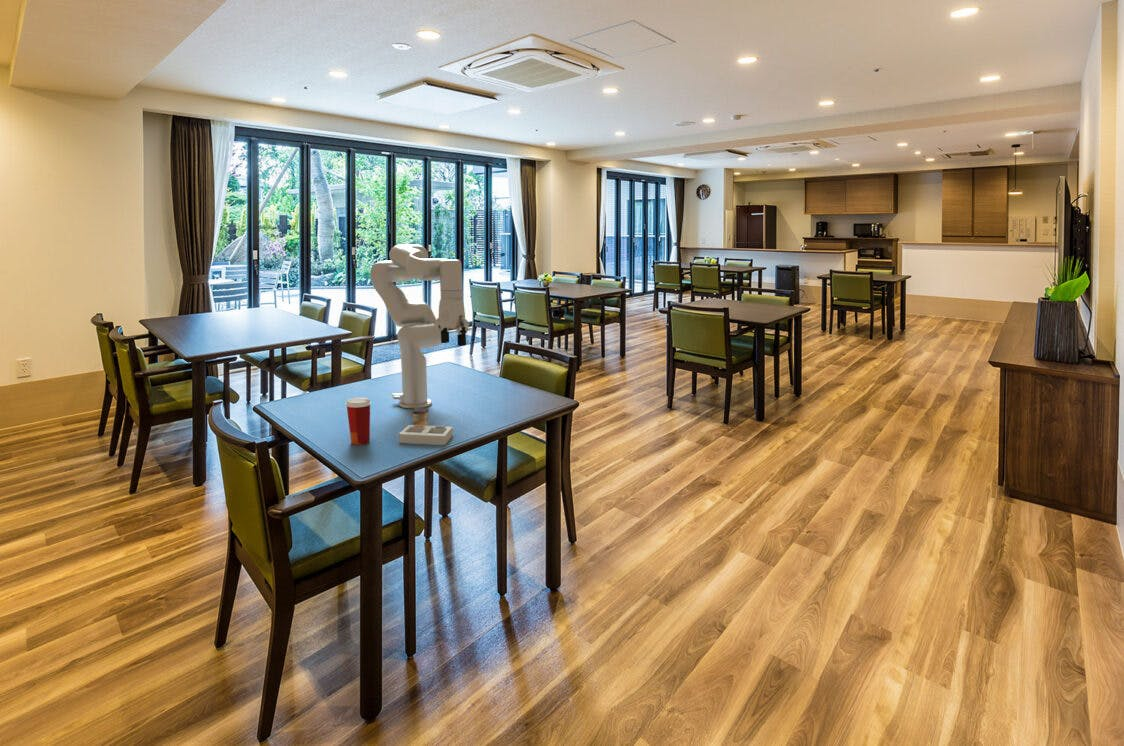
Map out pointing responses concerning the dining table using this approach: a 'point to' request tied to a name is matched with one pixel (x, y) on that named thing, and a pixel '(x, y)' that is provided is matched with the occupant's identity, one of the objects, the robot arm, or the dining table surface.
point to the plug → (420, 416)
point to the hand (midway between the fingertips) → (453, 344)
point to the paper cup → (359, 420)
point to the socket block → (426, 434)
